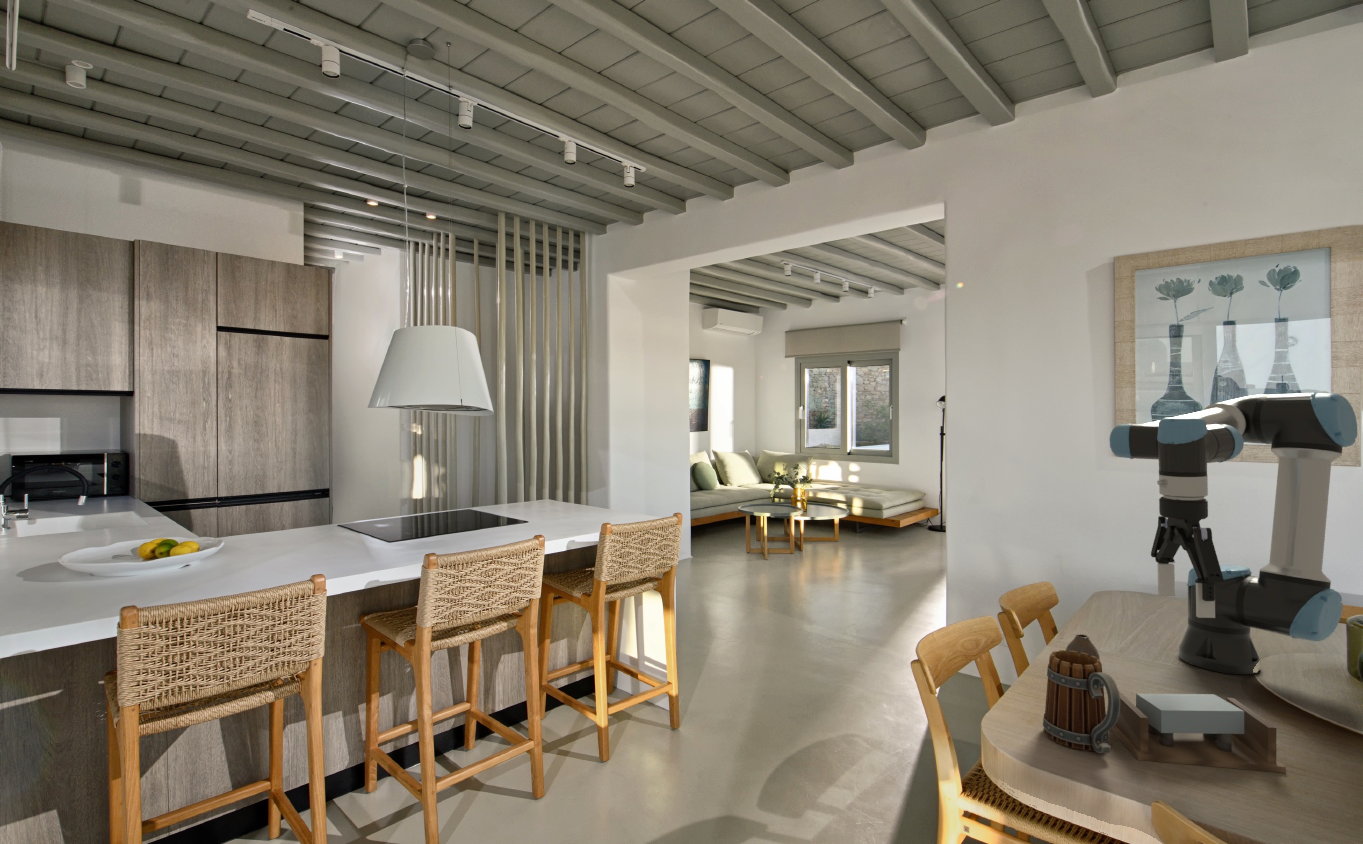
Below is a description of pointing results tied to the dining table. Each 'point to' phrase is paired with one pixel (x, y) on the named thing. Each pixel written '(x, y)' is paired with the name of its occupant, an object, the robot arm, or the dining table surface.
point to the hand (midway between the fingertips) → (1185, 606)
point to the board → (1191, 713)
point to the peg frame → (1200, 742)
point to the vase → (1083, 646)
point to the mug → (1079, 702)
